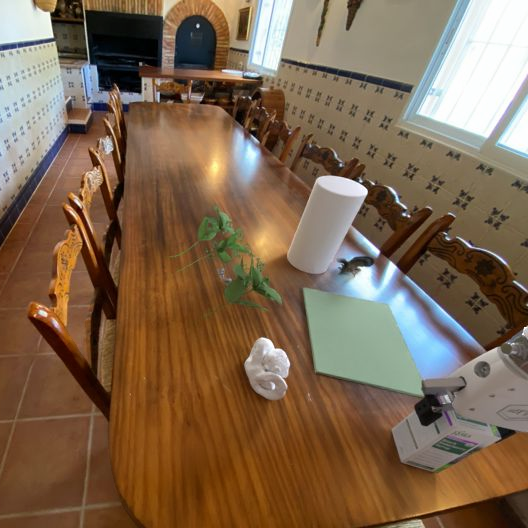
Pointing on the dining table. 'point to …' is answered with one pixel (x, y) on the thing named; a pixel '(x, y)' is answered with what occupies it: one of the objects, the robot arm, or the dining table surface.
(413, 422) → the syrup box
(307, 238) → the cylinder
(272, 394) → the baby figurine
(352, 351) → the felt mat
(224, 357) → the dining table surface
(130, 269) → the dining table surface
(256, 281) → the plant cuttings
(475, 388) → the robot arm
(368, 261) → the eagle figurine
